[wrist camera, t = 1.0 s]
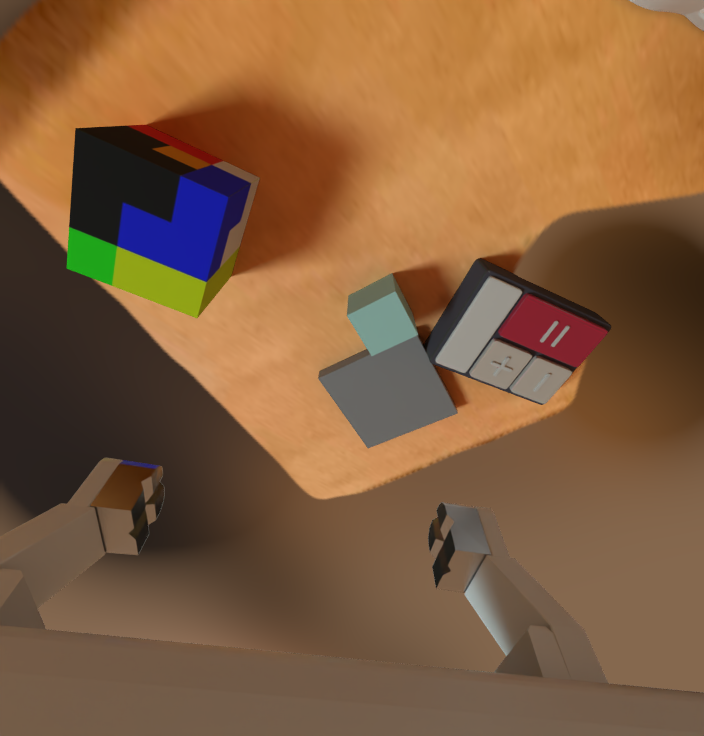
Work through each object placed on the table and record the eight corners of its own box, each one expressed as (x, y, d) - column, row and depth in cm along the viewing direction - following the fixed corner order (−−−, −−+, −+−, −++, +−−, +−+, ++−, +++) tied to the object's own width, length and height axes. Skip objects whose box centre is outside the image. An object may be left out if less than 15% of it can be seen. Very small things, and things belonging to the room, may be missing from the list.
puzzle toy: (260, 177, 36) (228, 197, 28) (231, 276, 41) (197, 318, 33) (146, 124, 34) (75, 128, 26) (130, 235, 39) (66, 268, 31)
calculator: (546, 410, 45) (429, 366, 41) (531, 387, 49) (422, 345, 45) (618, 330, 40) (490, 271, 36) (595, 311, 43) (477, 256, 40)
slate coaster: (414, 327, 44) (416, 333, 42) (455, 405, 49) (457, 413, 48) (319, 371, 47) (318, 378, 46) (367, 440, 52) (367, 448, 51)
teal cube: (391, 272, 41) (395, 291, 36) (412, 313, 43) (418, 335, 39) (348, 295, 42) (346, 315, 38) (370, 333, 44) (371, 356, 40)
